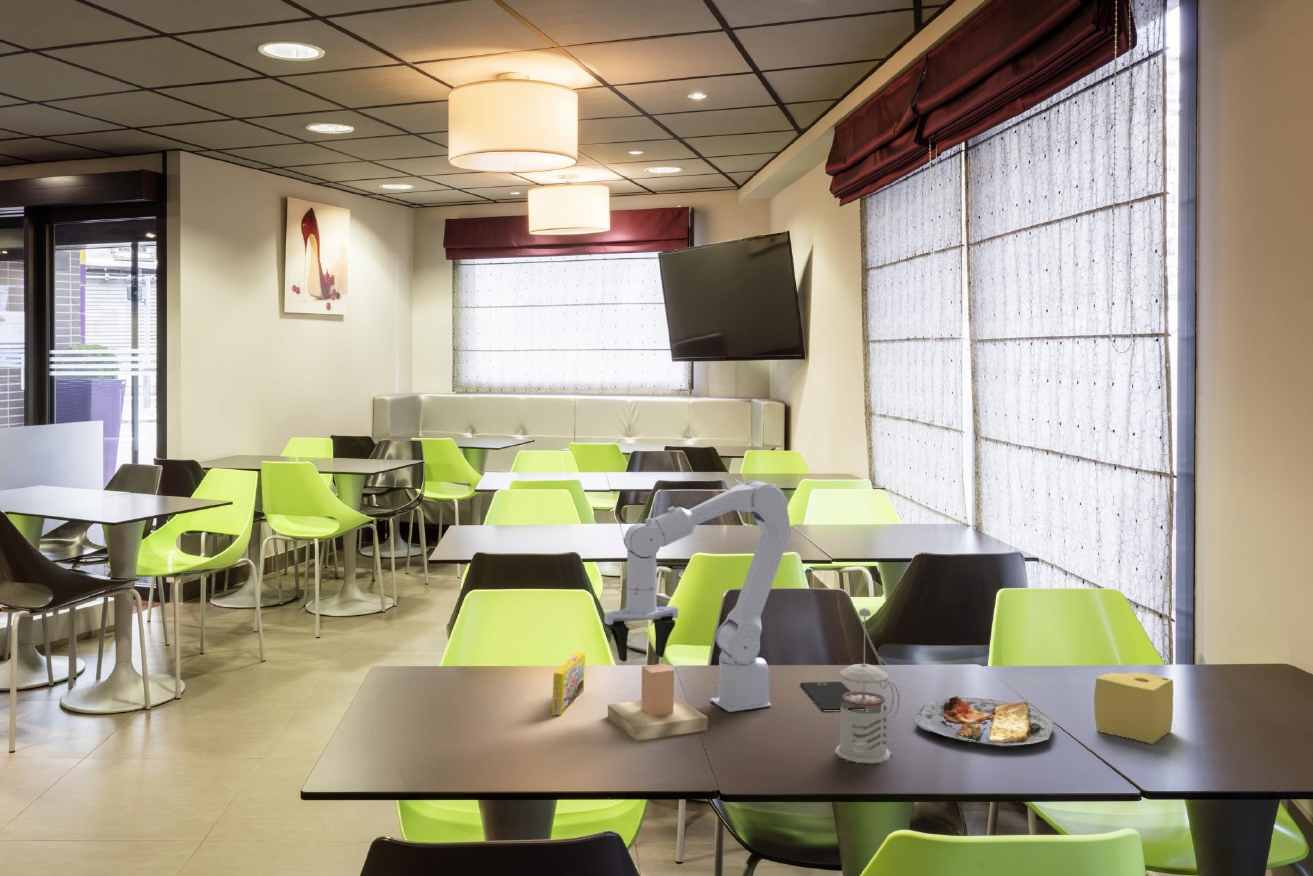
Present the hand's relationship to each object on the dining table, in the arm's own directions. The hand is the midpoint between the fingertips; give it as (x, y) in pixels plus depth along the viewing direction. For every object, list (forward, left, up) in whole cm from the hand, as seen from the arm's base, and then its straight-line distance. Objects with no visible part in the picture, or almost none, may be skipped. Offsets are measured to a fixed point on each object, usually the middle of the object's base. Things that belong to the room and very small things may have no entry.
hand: (641, 658), depth 194 cm
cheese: (-78, +45, -11) cm, 91 cm away
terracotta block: (0, +8, -8) cm, 11 cm away
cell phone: (-39, +6, -11) cm, 41 cm away
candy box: (+11, -11, -11) cm, 19 cm away
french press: (-27, +35, -11) cm, 46 cm away
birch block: (0, +7, -11) cm, 13 cm away
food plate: (-54, +33, -11) cm, 65 cm away
